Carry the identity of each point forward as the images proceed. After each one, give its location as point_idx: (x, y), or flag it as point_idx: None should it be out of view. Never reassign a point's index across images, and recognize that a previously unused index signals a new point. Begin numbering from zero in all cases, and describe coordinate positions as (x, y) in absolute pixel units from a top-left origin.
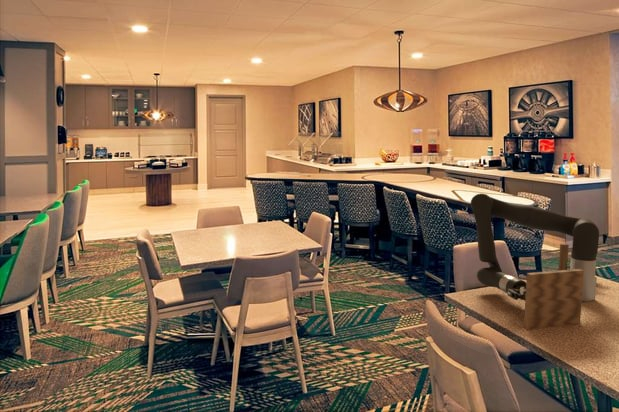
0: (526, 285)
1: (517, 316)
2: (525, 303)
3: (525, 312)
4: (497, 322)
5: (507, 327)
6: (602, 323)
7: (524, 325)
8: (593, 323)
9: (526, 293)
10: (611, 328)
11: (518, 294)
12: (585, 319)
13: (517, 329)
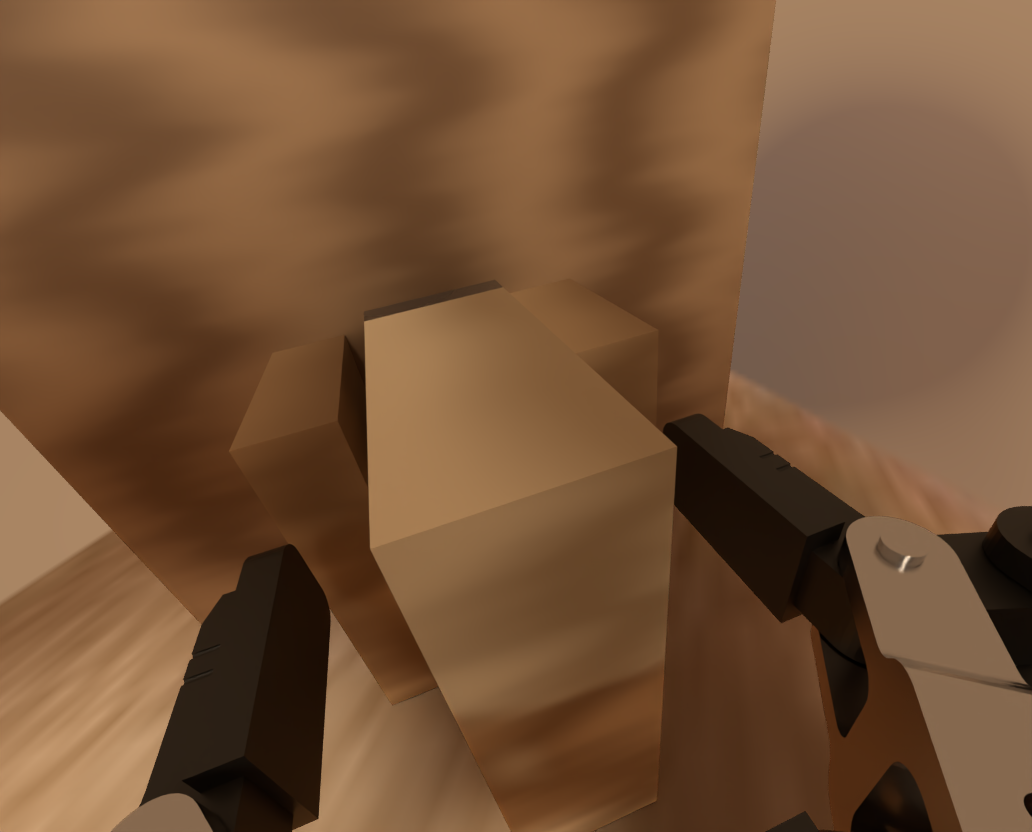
0: (769, 19)
1: (822, 729)
2: (739, 266)
3: (724, 347)
4: (986, 508)
5: (845, 439)
6: (40, 622)
7: None
8: (114, 612)
9: (748, 142)
10: (109, 538)
11: (985, 573)
12: (54, 714)
13: (762, 427)
